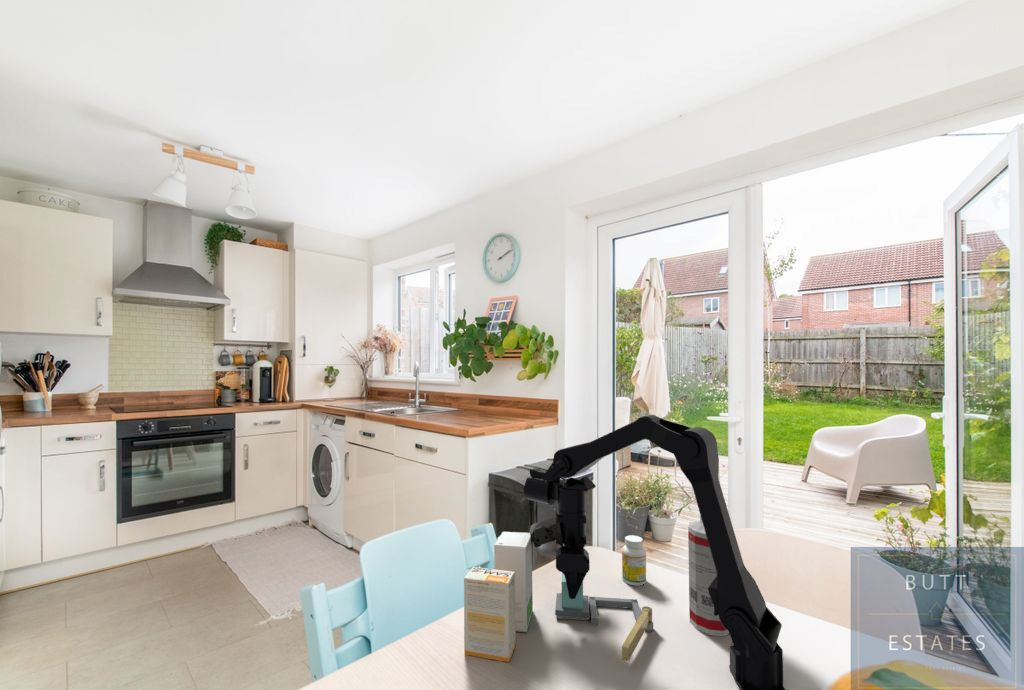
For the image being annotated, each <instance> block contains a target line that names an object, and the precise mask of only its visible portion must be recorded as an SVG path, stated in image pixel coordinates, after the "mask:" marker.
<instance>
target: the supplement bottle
mask: <svg viewBox="0 0 1024 690" xmlns="http://www.w3.org/2000/svg"><path fill="white" fill-rule="evenodd" d="M643 542H644V540H643V538H642V537H640V536H638V535H632V534H631V535H627V536H625V537H624V543H625V545H624V546H622V549H621V558H622V559H621V560H622V562H621V565H622V566H621V570H622V571H621V575H622V580H623V582H625V584H627V585H630V586H636V587H637V586H638V587H639V586H640V585H641V586H644V585H645V584H646V583H647V551H646V549H645V548H644V547H643V546H644V543H643ZM643 584H644V585H643Z"/></svg>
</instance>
